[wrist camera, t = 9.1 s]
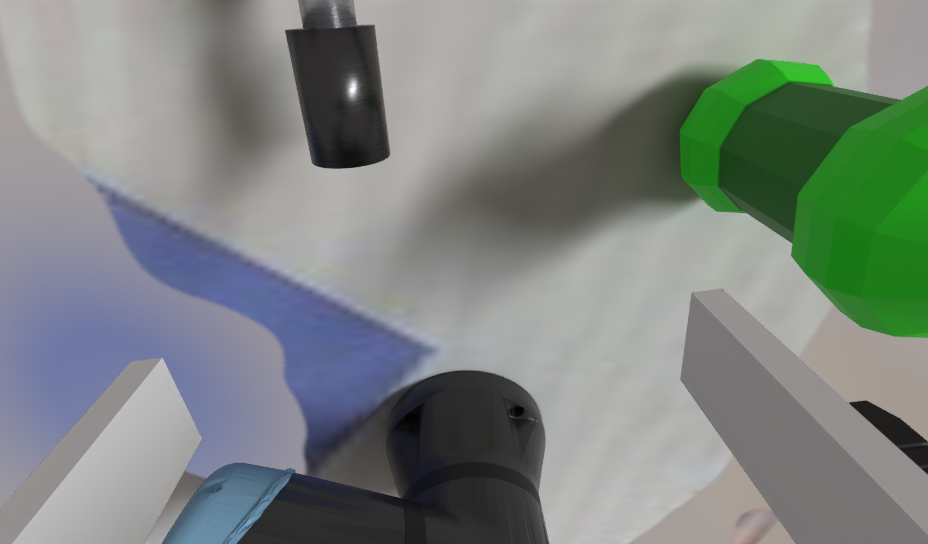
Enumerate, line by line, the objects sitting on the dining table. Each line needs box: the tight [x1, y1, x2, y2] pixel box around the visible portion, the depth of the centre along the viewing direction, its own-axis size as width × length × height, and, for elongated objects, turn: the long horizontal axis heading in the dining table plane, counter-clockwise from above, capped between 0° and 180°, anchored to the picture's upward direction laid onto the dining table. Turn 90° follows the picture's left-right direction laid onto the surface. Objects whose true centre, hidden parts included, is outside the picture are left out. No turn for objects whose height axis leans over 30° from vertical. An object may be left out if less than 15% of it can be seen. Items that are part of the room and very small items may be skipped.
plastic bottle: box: [680, 59, 928, 338], centre depth 23 cm, size 10×10×25 cm
